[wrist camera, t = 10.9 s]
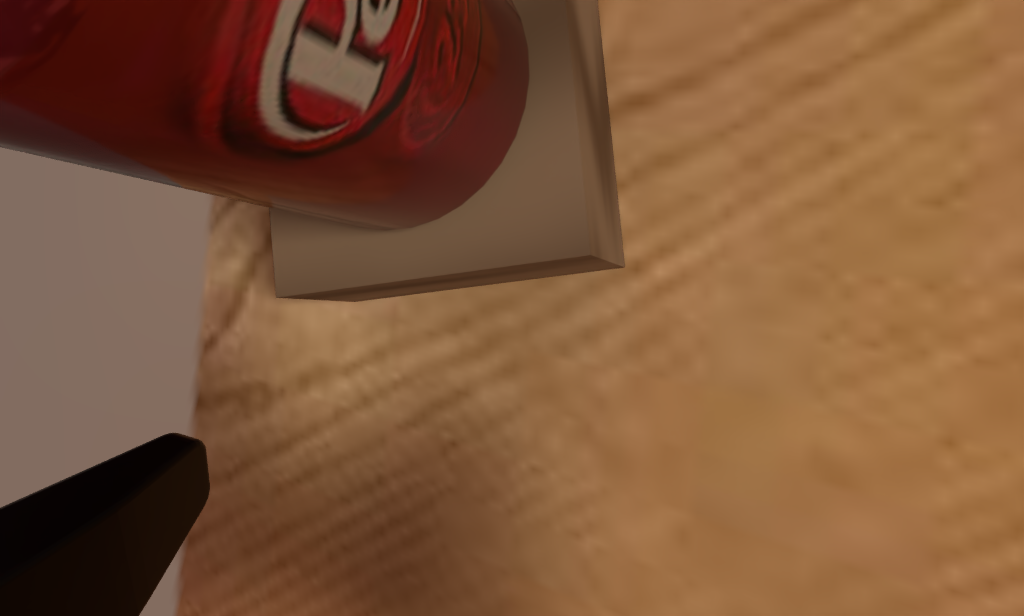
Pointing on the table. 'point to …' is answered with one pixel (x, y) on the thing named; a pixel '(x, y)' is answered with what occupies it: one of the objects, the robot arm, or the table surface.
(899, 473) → the table surface
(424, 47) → the soda can
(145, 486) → the robot arm
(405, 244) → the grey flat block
